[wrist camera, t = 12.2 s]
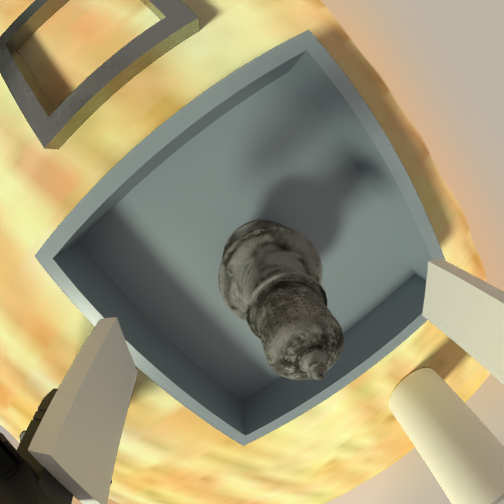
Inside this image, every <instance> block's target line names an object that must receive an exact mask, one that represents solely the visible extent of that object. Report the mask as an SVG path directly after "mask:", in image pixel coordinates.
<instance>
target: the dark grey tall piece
mask: <svg viewBox="0 0 504 504" xmlns="http://www.w3.org/2000/svg"><path fill="white" fill-rule="evenodd" d="M322 270H323V267H322V263H321V259H320V255H319V253H318V252H317V250H316V248H315V246H314V245H313V243H312V242H310V241H309V240H308V239H307V238H306V237H305V236H304V235H303V234H301V233H299V232H297V231H295V230H293V229H291V228H287V227H285V226H283V225H281V224H279V223H277V222H274V221H269V220H258V221H253V222H250V223H247V224H244V225H243V226H241V227H240V228H238V229H237V230H236V231H235V232H234V233H233V234H232V235H231V236H230V237H229V239H228V241H227V243H226V245H225V247H224V251H223V256H222V261H221V263H220V268H219V274H218V282H219V291H220V293H221V296H222V298H223V300H224V303H225V304H226V305H227V306H228V308H229V309H230V310H231V311H232V312H233V313H234V314H235V315H237V316H238V317H240V318H241V319H242V320H245V321H247V323H248V325H249V328H250V330H251V331H252V332H253V333H254V334H255V336H257V337H258V338H260V339H261V341H262V345H263V349H264V353H265V356H266V358H267V361H268V363H269V365H270V366H271V367H272V368H273V370H274V371H275V372H276V373H278V374H279V375H281V376H283V377H286V378H290V379H294V380H306V379H316V380H321V379H323V378H324V376H325V374H326V372H327V371H328V370H329V369H330V368H331V367H332V366H333V365H334V364H335V363H336V361H337V360H338V359H339V356H340V354H341V352H342V349H343V346H344V336H343V331H342V328H341V326H340V324H339V323H338V321H337V320H336V318H335V317H334V316H333V314H332V313H331V312H330V310H329V309H328V308H327V297H326V292H325V291H324V289H323V287H322V286H321V282H322Z"/></svg>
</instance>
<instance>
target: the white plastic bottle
mask: <svg viewBox="0 0 504 504" xmlns="http://www.w3.org/2000/svg"><path fill="white" fill-rule="evenodd" d="M389 408H390V410H391V412H392V413H393V414H394V416H395V417H396V419H397V420H398V422H399V423H400V425H401V426H402V428H403V429H404V431H405V432H406V434H407V435H408V437H409V438H410V440H411V441H412V443H413V444H414V446H415V447H416V449H417V450H418V452H419V453H420V455H421V456H422V458H423V459H424V461H425V462H426V464H427V466H428V467H429V469H430V470H431V472H432V473H433V475H434V477H435V478H436V480H437V481H438V483H439V484H440V486H441V488H442V489H443V491H444V492H445V494H446V495H447V497H448V498H449V500H450V502H451V503H452V504H504V446H503V445H502V444H501V443H500V442H499V440H498V439H497V438H496V437H495V436H494V435H493V434H492V433H491V431H490V430H489V429H488V428H487V427H486V426H485V425H484V423H483V422H482V421H481V420H480V419H479V418H478V417H477V416H476V415H475V413H474V412H473V411H472V410H471V409H470V408H469V407H468V406H467V405H466V404H465V403H464V402H463V400H462V399H461V398H460V397H459V396H458V395H457V394H456V393H455V392H454V391H453V390H452V389H451V388H450V387H449V386H448V384H447V383H446V382H445V381H444V380H443V379H442V378H441V377H440V376H439V375H438V374H437V373H436V372H435V371H434V370H433V369H431V368H421V369H418V370H416V371H414V372H412V373H411V374H409V375H408V376H406V377H405V378H404V379H403V380H402V381H401V382H400V383H399V384H398V385H397V386H396V387H395V389H394V390H393V392H392V394H391V396H390V398H389Z"/></svg>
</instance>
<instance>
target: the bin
mask: <svg viewBox="0 0 504 504" xmlns="http://www.w3.org/2000/svg"><path fill="white" fill-rule="evenodd" d="M258 220H269V221H274V222H277V223H279V224H281V225H283V226H285V227H287V228H291V229H293V230H295V231H297V232H299V233H301V234H303V235H304V236H305V237H306V238H307V239H308V240H309V241H310V242H312V243H313V245H314V246H315V248H316V250H317V252H318V253H319V255H320V259H321V263H322V267H323V270H322V282H321V286H322V287H323V289H324V291H325V292H326V297H327V308H328V309H329V310H330V312H331V313H332V314H333V316H334V317H335V318H336V320H337V321H338V323H339V324H340V326H341V328H342V331H343V336H344V346H343V349H342V352H341V354H340V356H339V359H338V360H337V361H336V363H335V364H334V365H333V366H332V367H331V368H330V369H329V370H328V371H327V372H326V374H325V376H324V378H323V379H321V380H316V379H306V380H294V379H290V378H286V377H283V376H281V375H279V374H278V373H276V372H275V371H274V370H273V368H272V367H271V366H270V365H269V363H268V361H267V358H266V356H265V353H264V349H263V345H262V341H261V339H260V338H258V337H257V336H255V334H254V333H253V332H252V331H251V330H250V328H249V325H248V323H247V321H245V320H242V319H241V318H240V317H238V316H237V315H235V314H234V313H233V312H232V311H231V310H230V309H229V308H228V306H227V305H226V304H225V303H224V300H223V298H222V296H221V293H220V291H219V282H218V274H219V268H220V263H221V261H222V256H223V251H224V247H225V245H226V243H227V241H228V239H229V237H230V236H231V235H232V234H233V233H234V232H235V231H236V230H237V229H238V228H240V227H241V226H243V225H244V224H247V223H250V222H253V221H258ZM35 257H36V258H37V260H38V261H39V262H40V264H41V265H42V266H43V268H44V269H45V270H46V271H47V273H48V274H49V275H50V277H51V278H52V279H53V280H54V281H55V283H56V284H57V285H58V286H59V288H60V289H61V290H62V291H63V292H64V293H65V295H66V296H67V297H68V298H69V299H70V300H71V302H72V303H73V304H74V305H75V306H76V307H77V308H78V309H79V310H80V312H81V313H82V314H83V315H84V316H85V317H86V318H87V319H88V320H89V321H90V322H91V323H92V324H93V325H94V326H96V324H97V323H98V321H99V320H100V319H103V318H112V317H117V319H118V322H119V325H120V327H121V330H122V333H123V336H124V338H125V341H126V344H127V346H128V349H129V351H130V354H131V356H132V359H133V361H134V364H135V366H136V367H137V368H139V369H140V370H141V371H142V372H143V373H144V374H145V375H147V376H148V377H149V378H150V379H151V380H152V381H154V382H155V383H156V384H157V385H159V386H160V387H161V388H162V389H163V390H165V391H166V392H167V393H168V394H170V395H171V396H172V397H173V398H175V399H176V400H177V401H179V402H180V403H181V404H183V405H184V406H185V407H187V408H188V409H189V410H191V411H192V412H193V413H195V414H196V415H198V416H199V417H200V418H202V419H203V420H205V421H206V422H207V423H209V424H210V425H212V426H213V427H215V428H216V429H218V430H219V431H221V432H222V433H224V434H225V435H227V436H228V437H230V438H231V439H233V440H235V441H236V442H238V443H239V444H241V445H243V446H244V445H246V444H248V443H250V442H252V441H254V440H256V439H258V438H260V437H262V436H264V435H266V434H268V433H270V432H272V431H274V430H275V429H277V428H279V427H281V426H283V425H284V424H286V423H288V422H290V421H291V420H293V419H295V418H297V417H298V416H300V415H302V414H303V413H305V412H307V411H308V410H310V409H311V408H313V407H315V406H316V405H318V404H319V403H321V402H323V401H324V400H326V399H327V398H329V397H330V396H332V395H333V394H335V393H336V392H338V391H339V390H341V389H342V388H344V387H345V386H346V385H348V384H349V383H351V382H352V381H353V380H355V379H356V378H358V377H359V376H360V375H362V374H363V373H364V372H366V371H367V370H368V369H370V368H371V367H372V366H374V365H375V364H376V363H378V362H379V361H380V360H381V359H383V358H384V357H385V356H386V355H388V354H389V353H390V352H391V351H393V350H394V349H395V348H396V347H397V346H399V345H400V344H401V343H402V342H403V341H405V340H406V339H407V338H408V337H409V336H410V335H412V334H413V333H414V332H415V331H416V330H417V329H418V328H419V327H420V326H422V325H423V324H424V323H425V322H426V321H427V319H426V318H425V317H424V316H422V312H423V305H424V298H425V289H426V280H427V270H428V261H431V260H435V259H439V258H440V259H442V260H444V261H445V258H444V256H443V253H442V250H441V248H440V245H439V242H438V240H437V237H436V235H435V232H434V230H433V227H432V225H431V223H430V220H429V218H428V216H427V213H426V211H425V209H424V207H423V204H422V202H421V200H420V198H419V196H418V194H417V192H416V190H415V188H414V186H413V184H412V182H411V180H410V178H409V176H408V174H407V172H406V170H405V168H404V166H403V164H402V162H401V160H400V159H399V157H398V155H397V153H396V151H395V150H394V148H393V146H392V144H391V143H390V141H389V139H388V138H387V136H386V134H385V132H384V131H383V129H382V128H381V126H380V124H379V123H378V121H377V120H376V118H375V116H374V115H373V113H372V112H371V110H370V109H369V107H368V106H367V104H366V103H365V101H364V100H363V98H362V97H361V95H360V94H359V92H358V91H357V90H356V88H355V87H354V85H353V84H352V83H351V81H350V80H349V79H348V77H347V76H346V75H345V73H344V72H343V71H342V69H341V68H340V67H339V65H338V64H337V63H336V62H335V60H334V59H333V58H332V56H331V55H330V54H329V53H328V52H327V50H326V49H325V48H324V47H323V46H322V44H321V43H320V42H319V41H318V40H317V38H316V37H315V36H314V35H313V34H312V33H311V32H310V31H309V30H307V31H305V32H303V33H301V34H299V35H297V36H295V37H293V38H291V39H290V40H288V41H286V42H284V43H282V44H280V45H278V46H276V47H275V48H273V49H271V50H269V51H268V52H266V53H264V54H262V55H261V56H259V57H257V58H255V59H254V60H252V61H250V62H249V63H247V64H246V65H244V66H242V67H241V68H239V69H238V70H236V71H234V72H233V73H231V74H230V75H228V76H227V77H225V78H224V79H222V80H221V81H219V82H218V83H216V84H215V85H213V86H212V87H210V88H209V89H208V90H206V91H205V92H203V93H202V94H201V95H199V96H198V97H196V98H195V99H194V100H192V101H191V102H190V103H188V104H187V105H186V106H184V107H183V108H182V109H180V110H179V111H178V112H176V113H175V114H174V115H173V116H171V117H170V118H169V119H168V120H166V121H165V122H164V123H163V124H161V125H160V126H159V127H158V128H157V129H155V130H154V131H153V132H152V133H151V134H149V135H148V136H147V137H146V138H145V139H144V140H142V141H141V142H140V143H139V144H138V145H137V146H136V147H135V148H133V149H132V150H131V151H130V152H129V153H128V154H127V155H126V156H125V157H124V158H123V159H121V160H120V161H119V162H118V163H117V164H116V165H115V166H114V167H113V168H112V169H111V170H110V171H109V172H108V173H107V174H106V175H105V176H104V177H103V178H102V179H101V180H100V181H99V182H98V183H97V184H96V185H95V186H94V187H93V188H92V189H91V190H90V191H89V192H88V193H87V194H86V195H85V197H84V198H83V199H82V200H81V201H80V202H79V203H78V204H77V205H76V206H75V207H74V209H73V210H72V211H71V212H70V213H69V214H68V215H67V217H66V218H65V219H64V220H63V221H62V222H61V224H60V225H59V226H58V227H57V228H56V230H55V231H54V232H53V233H52V234H51V236H50V237H49V238H48V239H47V241H46V242H45V243H44V244H43V246H42V247H41V248H40V250H39V251H38V252H37V254H36V255H35Z"/></svg>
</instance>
